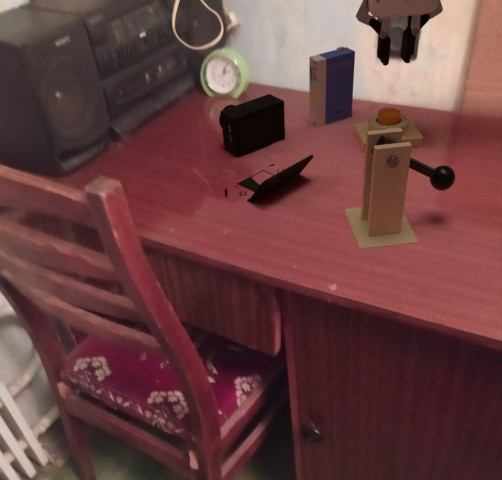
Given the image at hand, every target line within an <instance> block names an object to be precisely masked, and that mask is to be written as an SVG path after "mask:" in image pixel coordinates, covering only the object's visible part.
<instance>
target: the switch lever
mask: <svg viewBox="0 0 502 480" xmlns="http://www.w3.org/2000/svg"><path fill="white" fill-rule="evenodd" d="M394 143H396V142H394V141H392V140H390V139H388V138H386V137H384V136H381V137H380V139H379V140H378V142H377V143H376V145H385V144H394ZM376 145H375V146H376ZM371 152H372V154H373V153H374V148H373V150H372V151H371ZM409 169H410V170H413V171H415V172H417V173H419V174H421V175H423V176H426V177H427V178H429V183H430V185H431V187H432V188H433V189H435V190H437V191H446V190H449V189H450V188H451V187H452V186H454V184H455V181H456V172H455V171H454V169H453V168H452V167H451V166H449V165H446V164H445V165H438V166H436V167H435V168H434V167H432V166H430V165H428V164H425V163H424V162H422V161H420V160H418V159H415V158H413V157H412V156H410V164H409Z"/></svg>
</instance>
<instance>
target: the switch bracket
mask: <svg viewBox="0 0 502 480" xmlns="http://www.w3.org/2000/svg"><path fill="white" fill-rule="evenodd" d="M402 134H403V131H402V129H401V128H393V129H384V130H374V131H367V132H366V146H365V153H364V161H363V175H362V188H361V189H362V191H361V203H360V206H356V207H346V208H344V209H343V210H344V213H345V216H346V217H347V221H348V223H349V226H350V228H351V231H352V234H353V237H354V239H355V242H356V244H357V247H358V250H366V249H367V250H368V249H376V248H384V247H394V246H403V245H412V244H413V245H414V244H419V243H420V242H419V239H418V238H417V236H416V233H415V231H414V229H413V228H412V226H411V224H410V222H409V220H408V218H407V216H406V214H405V212H404V210H405V209H404V208H405V202H406V193H407V187H408V179H409V171H410V168H409V164H410V157H412V156H411V155H412V145H411V143H410V142H404V143H401V142H402ZM381 136H384V137H386V138H388V139H390V140H392V141H394V142H396V143H394V144H385V145H376V143H377V142H378V140H379V139H380V137H381ZM375 145H376V146H375ZM373 148H374V153H373V154H372V152H371V151H372V150H373Z"/></svg>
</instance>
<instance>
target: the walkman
mask: <svg viewBox="0 0 502 480" xmlns="http://www.w3.org/2000/svg"><path fill="white" fill-rule="evenodd" d="M308 60H309V61H308V62H309V64H308V65H309V68H308V69H309V70H308V71H309V73H308V74H309V75H308V76H309V79H308V81H309V82H308V83H309V88H308V89H309V90H308V91H309V92H308V95H309V96H308V97H309V99H308V100H309V101H308V102H309V103H308V104H309V105H308V109H309V111H308V112H309V113H308V115H309V116H308V118H309V119H308V121H309V124H311V126H313V127H314V128H319V127H322V126H325V125H330V124H333V123H336V122H339V121H343V120H346V119H349V118H352V116H353V97H354V82H355V81H354V80H355V61H356V51H355V50H353V49H351V48H349V47H347V46H346V47H345V46H344V45H343V46H339V47H338V46H337V47H336V49H333V50H329V51H325V52H322V53H318V54H315V55H312V56H309V59H308Z"/></svg>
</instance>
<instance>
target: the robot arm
mask: <svg viewBox="0 0 502 480" xmlns="http://www.w3.org/2000/svg"><path fill="white" fill-rule="evenodd" d="M443 11H444V7H443V4H442V1H441V0H362V1H361V4H360V6H359V7H358V10H357V12H356V14H355V18H356V20H357V21H358V22H360V23H362V24H363V25H366V26H368V27H370V28H371V29H372V30H373V31H374V32H375V33H376V34H377V46H376V58H377V59H378V60H379V62H380V63H381V64H382V65H383V66H384V67H385V66H388V65H389V64H390V54H391V45H392V43H391V42H392V39H391V37H390V33H389V30H390V24H391V19H393V18H402V17H406V27H405V29H404V30H403V32H402V36H401V46H400V54H399V56H400V58H401V60H402V61H403V62H404V63H405V64H410V63H411V59H412V56H414V54H415V46H416V38H417V36H418V35H419V34H420V31H421V29H422V28H424V26H425V25H426V24H427V23H428V22H429V21H430V20H432V19H434V18H435V17H437V16H438V15H440V14H441V13H442V12H443Z"/></svg>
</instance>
